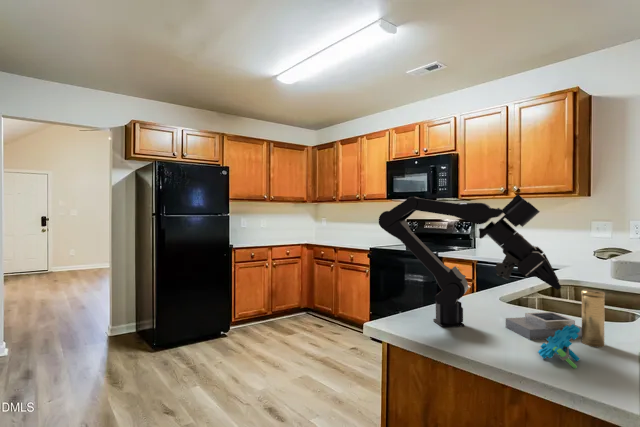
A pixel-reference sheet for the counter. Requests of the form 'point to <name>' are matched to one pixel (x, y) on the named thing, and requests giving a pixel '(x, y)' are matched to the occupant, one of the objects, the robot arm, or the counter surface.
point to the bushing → (593, 318)
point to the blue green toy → (561, 344)
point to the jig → (540, 325)
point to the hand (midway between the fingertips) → (558, 285)
